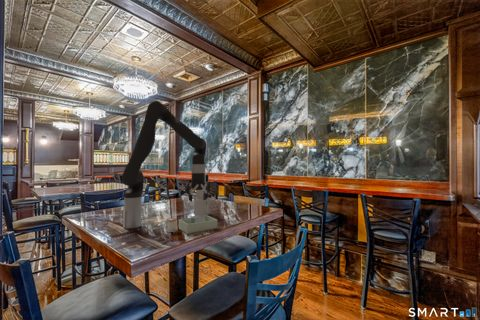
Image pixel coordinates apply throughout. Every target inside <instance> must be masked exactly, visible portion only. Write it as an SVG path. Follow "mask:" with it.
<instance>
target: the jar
mask: <svg viewBox="0 0 480 320" xmlns="http://www.w3.org/2000/svg"><path fill="white" fill-rule="evenodd" d="M177 220H178V218H176V217H172V218H171V217H168V218H167V219H166V221H167V224H166V225H167V233H168V232H170V233H171V232H173V233H176V232H177Z"/></svg>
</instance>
